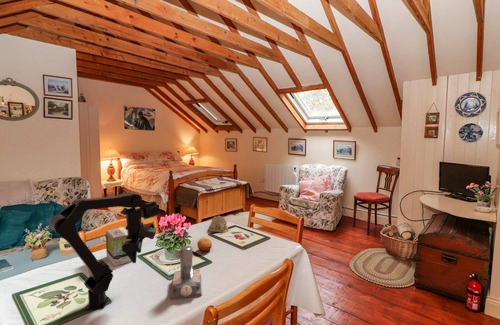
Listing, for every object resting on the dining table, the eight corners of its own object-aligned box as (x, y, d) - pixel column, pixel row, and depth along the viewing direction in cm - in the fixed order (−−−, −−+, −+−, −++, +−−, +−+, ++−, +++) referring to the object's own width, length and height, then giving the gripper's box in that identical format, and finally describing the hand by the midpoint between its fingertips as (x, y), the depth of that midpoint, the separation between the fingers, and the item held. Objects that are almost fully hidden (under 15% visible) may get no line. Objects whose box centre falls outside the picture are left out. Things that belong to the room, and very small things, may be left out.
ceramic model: (229, 227, 192) (229, 213, 191) (228, 232, 181) (228, 218, 180) (209, 227, 192) (209, 213, 191) (207, 232, 180) (207, 218, 179)
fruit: (203, 243, 159) (207, 233, 155) (210, 253, 155) (215, 243, 152) (192, 247, 152) (196, 237, 149) (200, 257, 149) (204, 247, 145)
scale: (201, 296, 108) (201, 284, 108) (170, 299, 106) (170, 287, 105) (200, 276, 123) (200, 266, 123) (173, 279, 121) (173, 268, 120)
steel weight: (189, 280, 113) (189, 251, 112) (178, 278, 114) (178, 250, 113) (194, 274, 118) (194, 246, 117) (183, 273, 119) (183, 245, 118)
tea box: (134, 260, 139) (133, 233, 137) (113, 266, 132) (112, 237, 131) (125, 251, 150) (124, 225, 149) (106, 256, 144) (104, 229, 142)
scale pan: (200, 287, 112) (200, 281, 112) (172, 290, 110) (172, 284, 109) (199, 274, 123) (199, 269, 122) (174, 276, 120) (174, 271, 120)
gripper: (150, 228, 104) (153, 266, 106) (157, 213, 122) (159, 246, 124) (119, 231, 102) (123, 269, 104) (131, 215, 120) (134, 248, 122)
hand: (137, 257), depth 114 cm, fingers open, 9 cm apart
